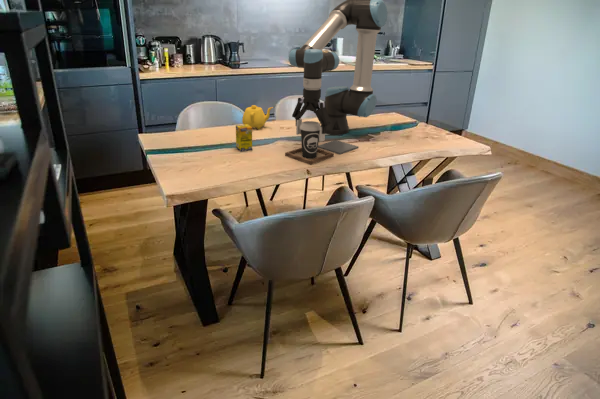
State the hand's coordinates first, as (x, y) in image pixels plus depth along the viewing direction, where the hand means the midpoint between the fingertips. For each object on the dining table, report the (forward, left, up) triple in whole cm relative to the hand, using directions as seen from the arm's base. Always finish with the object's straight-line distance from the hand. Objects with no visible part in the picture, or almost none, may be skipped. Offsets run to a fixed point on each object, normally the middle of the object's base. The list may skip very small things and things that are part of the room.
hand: (310, 137), depth 191 cm
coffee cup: (0, 0, -9) cm, 9 cm away
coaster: (+1, +19, -9) cm, 21 cm away
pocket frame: (0, 0, -9) cm, 9 cm away
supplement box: (-27, -15, -9) cm, 32 cm away
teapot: (-50, +14, -9) cm, 53 cm away
